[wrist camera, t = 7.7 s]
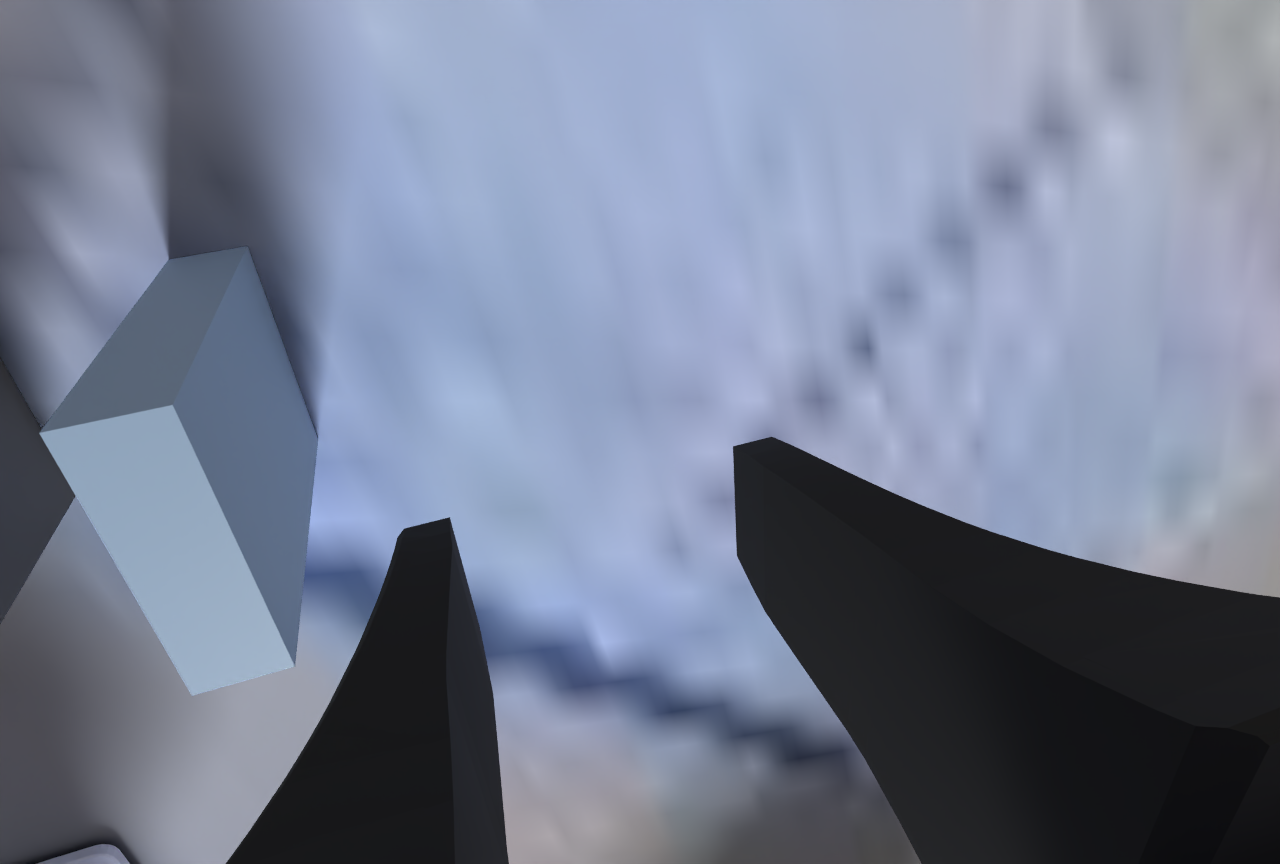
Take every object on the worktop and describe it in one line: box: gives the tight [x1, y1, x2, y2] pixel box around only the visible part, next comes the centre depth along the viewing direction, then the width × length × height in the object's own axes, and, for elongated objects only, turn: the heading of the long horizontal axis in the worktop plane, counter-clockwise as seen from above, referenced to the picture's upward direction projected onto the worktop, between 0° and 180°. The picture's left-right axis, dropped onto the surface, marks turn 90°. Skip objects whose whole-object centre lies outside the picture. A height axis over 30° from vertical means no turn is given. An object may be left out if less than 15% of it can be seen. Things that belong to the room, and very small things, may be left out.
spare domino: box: [39, 246, 318, 696], centre depth 15 cm, size 5×2×8 cm, turn 6°
